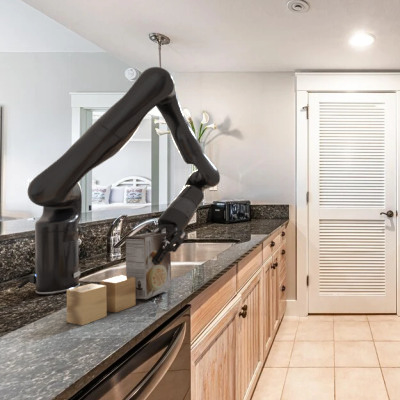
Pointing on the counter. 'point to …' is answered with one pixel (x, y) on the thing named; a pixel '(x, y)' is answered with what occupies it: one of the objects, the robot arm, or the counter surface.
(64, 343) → the counter surface
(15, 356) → the counter surface
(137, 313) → the counter surface
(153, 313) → the counter surface
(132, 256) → the printed cardboard box
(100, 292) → the maple block near
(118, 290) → the maple block middle
